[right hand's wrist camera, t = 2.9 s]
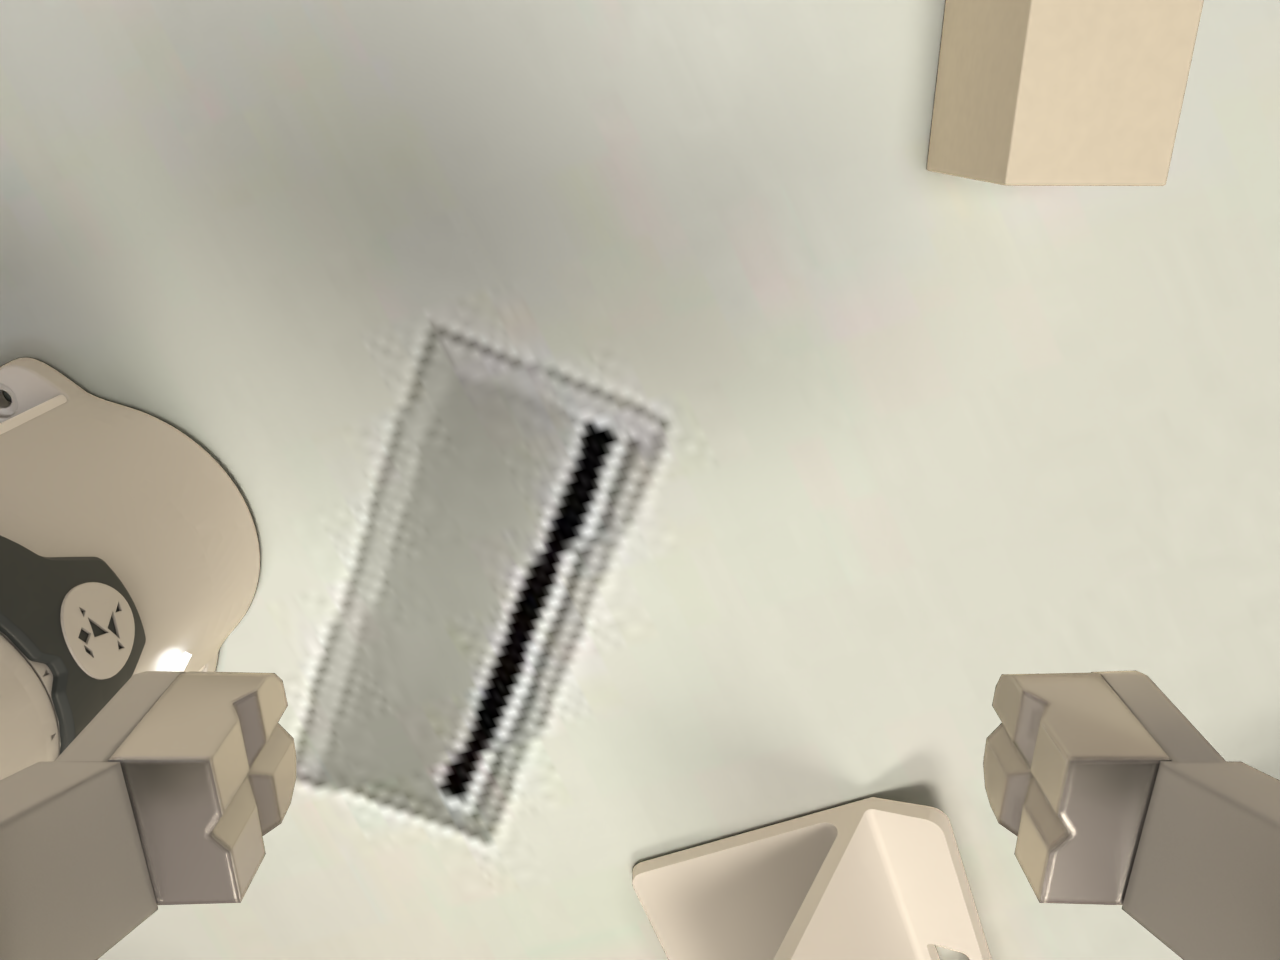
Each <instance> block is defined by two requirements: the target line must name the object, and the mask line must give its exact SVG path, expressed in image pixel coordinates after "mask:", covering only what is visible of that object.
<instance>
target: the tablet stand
mask: <svg viewBox="0 0 1280 960" xmlns="http://www.w3.org/2000/svg"><path fill="white" fill-rule="evenodd" d="M632 885H633V888H634V890H635V892H636V894H637V896H638V898H639V900H640V902H641V904H642V906H643V908H644V910H645V913H646V915H647V917H648V919H649V921H650V923H651V925H652V927H653V929H654V931H655V933H656V935H657V937H658V939H659V941H660V943H661V945H662V948H663V950H664V952H665V954H666V956H667V958H668V960H940V958H939V955H938V952H937V949H936V946H940V947H943V948H947V949H950V950H954V951H957V952H961V953H963V954H965V955H966V956H967V957H968V958H969V960H992V958H991V955H990V952H989V948H988V945H987V942H986V939H985V935H984V932H983V929H982V925H981V922H980V919H979V916H978V912H977V909H976V906H975V902H974V899H973V896H972V893H971V889H970V886H969V883H968V879H967V876H966V873H965V870H964V866H963V863H962V860H961V856H960V853H959V850H958V847H957V843H956V840H955V837H954V833H953V830H952V827H951V824H950V820H949V818H948V817H947V815H946V814H945V813H944V812H942V811H941V810H939V809H937V808H935V807H931V806H925V805H919V804H913V803H906V802H900V801H894V800H888V799H882V798H876V797H870V798H867V799H863V800H860V801H856V802H852V803H849V804H845V805H842V806H838V807H835V808H831V809H828V810H824V811H821V812H817V813H813V814H810V815H806V816H803V817H799V818H796V819H792V820H789V821H785V822H782V823H778V824H774V825H771V826H767V827H764V828H760V829H757V830H753V831H750V832H746V833H743V834H739V835H735V836H732V837H728V838H725V839H721V840H718V841H714V842H711V843H707V844H704V845H700V846H696V847H693V848H689V849H686V850H682V851H679V852H675V853H672V854H668V855H665V856H661V857H657V858H654V859H650V860H647V861H643V862H640V863H638V864H637V865H635V867H634V868H633V872H632ZM935 945H936V946H935Z"/></svg>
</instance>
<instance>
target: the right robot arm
mask: <svg viewBox="0 0 1280 960" xmlns="http://www.w3.org/2000/svg"><path fill="white" fill-rule="evenodd" d="M3 390H4V391H6V392H7V393H8V394H9V395H10V397H11V399H12V403H11V402H9V401H7V400H6V399H5V398H4V396H3V393H2V391H3ZM259 572H260V551H259V542H258V537H257V533H256V529H255V525H254V522H253V519H252V516H251V514H250V511H249V509H248V507H247V505H246V503H245V501H244V499H243V497H242V495H241V493H240V492H239V490H238V488H237V487H236V485H235V484H234V482H233V481H232V480H231V478H230V477H229V476H228V474H227V473H226V472H225V471H224V469H223V468H222V467H221V466H220V465H219V464H218V463H217V461H216V460H215V459H214V458H213V457H212V456H211V455H210V454H209V453H208V452H206V451H205V450H204V449H203V448H202V447H201V446H200V445H198V444H197V443H196V442H195V441H193V440H192V439H191V438H189V437H188V436H187V435H185V434H184V433H182V432H181V431H179V430H178V429H176V428H174V427H173V426H171V425H169V424H168V423H166V422H164V421H162V420H160V419H158V418H156V417H154V416H151V415H149V414H147V413H144V412H142V411H139V410H136V409H133V408H130V407H127V406H123V405H120V404H117V403H114V402H110V401H107V400H104V399H101V398H99V397H96V396H94V395H92V394H90V393H87V392H86V391H85V390H83V389H82V388H81V387H79V386H78V385H77V384H75V383H74V382H73V381H71V380H70V379H68V378H67V377H66V376H64V375H63V374H61V373H60V372H58V371H57V370H55V369H54V368H52V367H50V366H49V365H47V364H45V363H43V362H41V361H39V360H36V359H33V358H18V359H15V360H12V361H11V362H9V363H7V364H5V365H3V366H1V367H0V960H97V959H98V958H100V957H101V956H102V955H103V954H104V953H106V952H107V951H108V950H109V949H111V948H112V947H113V946H114V945H115V944H117V943H118V942H119V941H120V940H121V939H123V938H124V937H125V936H126V935H128V934H129V933H130V932H131V931H132V930H134V929H135V928H136V927H137V926H138V925H140V924H141V923H142V922H143V921H144V920H146V919H147V918H148V917H149V916H151V915H152V914H153V913H154V912H155V911H157V910H158V906H157V905H175V904H210V903H241V901H242V899H243V897H244V895H245V893H246V891H247V889H248V887H249V885H250V883H251V881H252V879H253V877H254V876H255V874H256V872H257V870H258V868H259V866H260V864H261V862H262V860H263V858H264V856H265V854H266V853H265V848H264V843H263V837H262V836H264V835H265V834H266V833H268V832H269V831H271V830H272V829H274V828H275V827H276V826H278V825H279V824H281V823H282V821H283V818H284V816H285V814H286V812H287V810H288V808H289V806H290V804H291V800H292V795H293V790H294V786H295V781H296V751H295V744H294V738H293V737H292V736H291V735H290V734H289V733H288V732H287V731H286V730H285V729H284V728H283V727H282V726H281V725H280V724H279V723H278V722H279V720H280V718H281V716H282V715H283V713H284V711H285V710H286V708H287V706H288V704H287V699H286V694H285V689H284V685H283V681H282V680H281V679H280V678H279V677H278V676H277V675H276V674H275V673H245V672H215V670H216V665H217V659H218V653H219V649H220V647H221V645H222V644H223V642H224V641H225V639H226V638H227V637H228V636H229V634H230V633H231V632H232V631H233V630H234V629H235V627H236V626H237V625H238V624H239V623H240V621H241V620H242V618H243V617H244V616H245V614H246V612H247V610H248V609H249V607H250V604H251V602H252V600H253V597H254V595H255V592H256V588H257V584H258V579H259ZM992 706H993V708H994V710H995V711H996V713H997V715H998V716H999V718H1000V720H1001V722H1002V723H1001V724H1000V725H999V726H998V727H997V728H996V729H995V730H994V731H993V732H992V733H991V734H990V735H989V736H988V737H987V738H986V745H985V753H984V760H983V768H984V780H985V789H986V792H987V796H988V799H989V803H990V806H991V808H992V810H993V812H994V814H995V816H996V818H997V821H998V823H999V824H1001V825H1002V826H1004V827H1005V828H1006V829H1008V830H1009V831H1011V832H1012V833H1014V834H1015V835H1016V836H1018V837H1017V843H1016V848H1015V853H1014V854H1015V856H1016V858H1017V860H1018V862H1019V864H1020V866H1021V868H1022V870H1023V872H1024V874H1025V875H1026V877H1027V879H1028V881H1029V883H1030V885H1031V887H1032V889H1033V891H1034V893H1035V895H1036V897H1037V899H1038V901H1039V903H1069V904H1104V905H1123V906H1122V909H1123V910H1124V911H1125V912H1126V913H1127V914H1129V915H1130V916H1131V917H1132V918H1134V919H1135V920H1136V921H1137V922H1138V923H1140V924H1141V925H1142V926H1143V927H1144V928H1146V929H1147V930H1148V931H1149V932H1150V933H1152V934H1153V935H1154V936H1155V937H1157V938H1158V939H1159V940H1160V941H1161V942H1163V943H1164V944H1165V945H1166V946H1167V947H1169V948H1170V949H1171V950H1172V951H1173V952H1175V953H1176V954H1177V955H1178V956H1179V957H1181V958H1182V959H1183V960H1280V780H1278V779H1275V778H1273V777H1271V776H1269V775H1267V774H1265V773H1263V772H1261V771H1259V770H1257V769H1255V768H1253V767H1251V766H1249V765H1247V764H1245V763H1243V762H1226V761H1225V760H1224V759H1223V758H1222V757H1221V755H1220V754H1219V753H1218V752H1217V751H1216V750H1215V749H1214V748H1213V747H1212V746H1211V745H1210V743H1209V742H1208V741H1207V740H1206V739H1205V738H1204V737H1203V736H1202V735H1201V734H1200V733H1199V731H1198V730H1197V729H1196V728H1195V727H1194V726H1193V725H1192V724H1191V723H1190V722H1189V721H1188V719H1187V718H1186V717H1185V716H1184V715H1183V714H1182V713H1181V712H1180V711H1179V710H1178V709H1177V707H1176V706H1175V705H1174V704H1173V703H1172V702H1171V701H1170V700H1169V699H1168V698H1167V696H1166V695H1165V694H1164V693H1163V692H1162V691H1161V690H1160V689H1159V688H1158V687H1157V686H1156V684H1155V683H1154V682H1153V681H1152V680H1151V679H1150V678H1149V677H1148V676H1147V675H1145V674H1143V673H1140V672H1138V671H1107V672H1091V673H1051V674H1002V675H1001V677H1000V679H999V681H998V683H997V685H996V687H995V693H994V698H993V703H992Z"/></svg>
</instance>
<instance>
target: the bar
mask: <svg viewBox="0 0 1280 960" xmlns="http://www.w3.org/2000/svg"><path fill="white" fill-rule="evenodd" d="M1203 2H1204V0H946V3H945V12H944V21H943V29H942V38H941V47H940V56H939V65H938V74H937V83H936V91H935V100H934V109H933V118H932V127H931V136H930V144H929V153H928V162H927V170H928V171H933V172H938V173H943V174H949V175H954V176H959V177H964V178H969V179H975V180H980V181H985V182H990V183H995V184H1001V185H1010V186H1164V185H1165V184H1166V181H1167V176H1168V171H1169V166H1170V161H1171V156H1172V152H1173V147H1174V142H1175V137H1176V132H1177V127H1178V123H1179V118H1180V113H1181V108H1182V103H1183V98H1184V94H1185V89H1186V84H1187V79H1188V74H1189V69H1190V65H1191V60H1192V55H1193V50H1194V45H1195V40H1196V36H1197V31H1198V26H1199V21H1200V16H1201V12H1202V7H1203Z"/></svg>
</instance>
